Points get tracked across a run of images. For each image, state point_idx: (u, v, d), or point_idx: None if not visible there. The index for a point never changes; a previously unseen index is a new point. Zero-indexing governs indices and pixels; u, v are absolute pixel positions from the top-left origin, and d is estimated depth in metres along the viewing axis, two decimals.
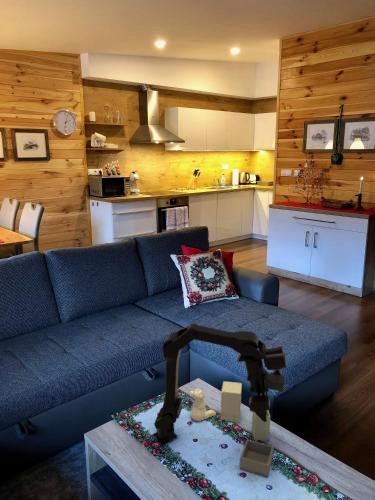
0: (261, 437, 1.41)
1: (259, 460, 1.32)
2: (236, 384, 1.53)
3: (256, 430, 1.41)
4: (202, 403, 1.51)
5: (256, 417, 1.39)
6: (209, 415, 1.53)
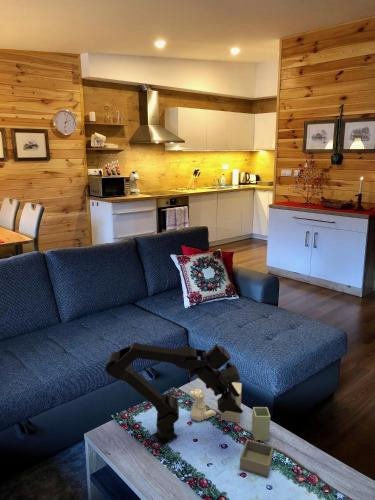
0: (261, 437, 1.41)
1: (259, 460, 1.32)
2: (236, 384, 1.53)
3: (256, 430, 1.41)
4: (202, 403, 1.51)
5: (256, 417, 1.39)
6: (209, 415, 1.53)
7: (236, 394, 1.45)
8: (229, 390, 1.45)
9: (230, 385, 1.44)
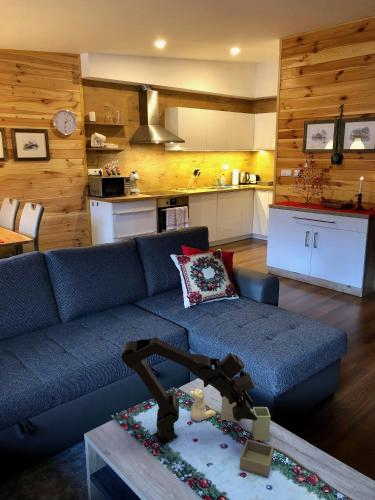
0: (261, 437, 1.41)
1: (259, 460, 1.32)
2: None
3: (256, 430, 1.41)
4: (202, 403, 1.51)
5: None
6: (209, 415, 1.53)
7: (250, 402, 1.46)
8: (243, 398, 1.45)
9: (244, 393, 1.45)
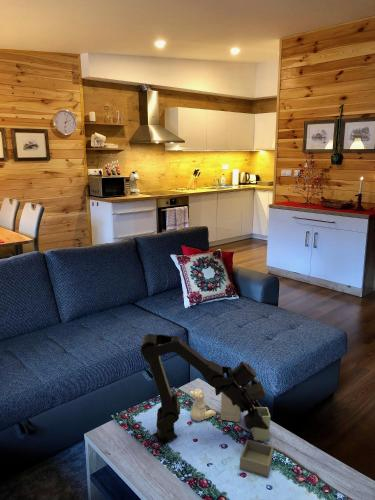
0: (261, 437, 1.41)
1: (259, 460, 1.32)
2: None
3: (256, 430, 1.41)
4: (202, 403, 1.51)
5: None
6: (209, 415, 1.53)
7: None
8: (254, 406, 1.46)
9: (255, 401, 1.46)
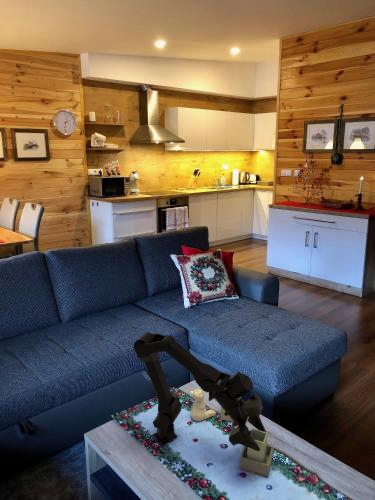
0: None
1: None
2: None
3: (249, 454, 1.29)
4: (202, 403, 1.51)
5: None
6: (209, 415, 1.53)
7: (262, 430, 1.33)
8: (255, 424, 1.34)
9: (256, 419, 1.33)
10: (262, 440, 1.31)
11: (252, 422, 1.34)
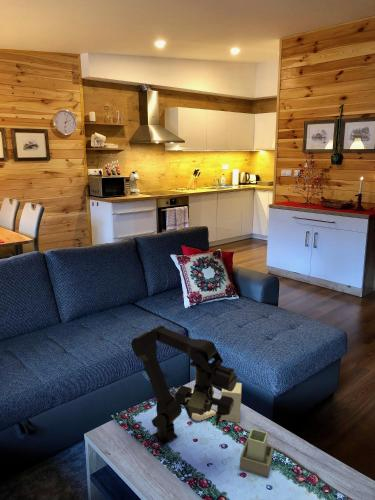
0: None
1: None
2: (236, 384, 1.53)
3: (249, 454, 1.29)
4: None
5: (249, 439, 1.28)
6: (209, 415, 1.53)
7: None
8: None
9: (217, 413, 1.28)
10: (262, 440, 1.31)
11: None
